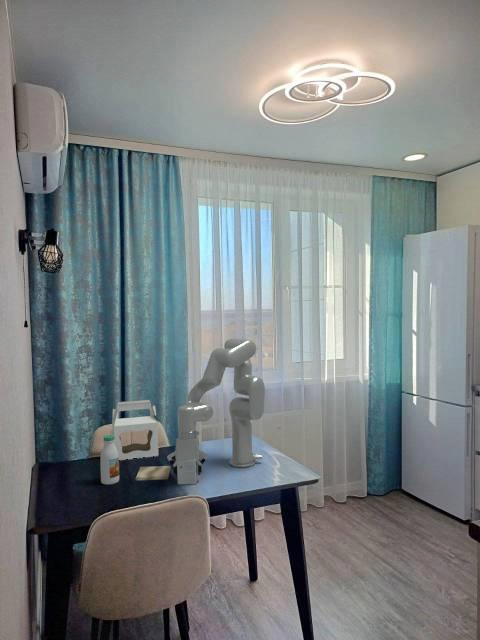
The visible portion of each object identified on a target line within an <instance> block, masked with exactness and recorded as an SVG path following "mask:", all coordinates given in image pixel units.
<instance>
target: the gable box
mask: <svg viewBox="0 0 480 640" xmlns="http://www.w3.org/2000/svg"><path fill="white" fill-rule="evenodd" d="M137 410H149V415H143V416H132V417H121V418H119V413H120V412H125V411H126V412H127V411H137ZM111 418H112V419H111V423H112V425H111V427H112V431H111V432H112V435H114V437H115V439H114V440H115V441H114V444H115V447H116V449H117V451H118V455H119V460H120V461H127V460H126V459H128V460H134V459H133V458H137V459H144V458H143V457H145V458H152V457H153V456H154V457H159V428H158V427H159V424H158V419H157V408H156V405H154V404H153V405H152V403H151V400H150V399H141V400H128V401H118V403H117V407H116V408H112V417H111ZM143 431H148V432H147V437H146V438H147V442H146V443H144V444H143V443H130V444H128V445H123V444H122V441H121V440H122V438H121V434H122V433H124V432H126V433H127V432H143Z"/></svg>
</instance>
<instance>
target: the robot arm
mask: <svg viewBox="0 0 480 640" xmlns="http://www.w3.org/2000/svg"><path fill="white" fill-rule="evenodd" d="M223 347H224V348H222V347H220V348H215V349H213V351H212V352H211V354H210V356H209V358H208V361H207V365H206V367H205V370H204V372H203V375H202V378H201V379H200V380H199V381H198V382H197V383H196V384H195V385H194V386H193V387H192V388H191V389H190V391H189V393H188V395H187V398H186V399H185V403H184V405H181V406H179V407H178V409H177V434H178V435H177V437H176V439H175V440H176V441H175V451H173V452H172V453H170V454H168V455H167V457H166V459H167V460H168V462H169V463H170V464H171V465H172V467H173V474H175V477H178V476H177V461H181V460H196V462H197V472H198V476H200V475H201V473H202V469H203V468H202V465H203V464H205V462H206V460H207V458H208V453H206V452H204V451H201V450H200V442H199V439H198V438H199V437H198V436H199V435H200V431H197V430H196V425H197V422H207V421H209V420H211V418H213V416H214V409H213V407H212V406H211V405H210V404H207V403H202V402H201V400H202V398H203V397H204V395H205V394H206V393H208V392H209V391H211V390H213V389H215V388H217V387H219V386H220V385H221V382H222V379H223V377H224V374H225V371H226V368H228V369H229V368H230V369H232V368H233V372H234V373H233V391H234V392H235V393H236V394H238V395H242V396H247V397H242V396H238V397H234V398H233V399H231V401H230V402H229V405H228V406H229V408H228V410H229V414H230V421H231V444H232V445H231V449H232V451H231V452H232V454H231V455H232V458H230V459H229V461H228V462H229V465H230V466H232V467H236V468H248V467H253V466H254V465H255V464H256V463H257V462H256V461H257V460H263V455H261V454H260V455H259V454H258V453H256V454H254V453H253V439H252V438H253V432H252V431H253V430H252V428H253V427H252V422H251V420H252V421H258V420H261V418H262V416H263V415H264V414H263V413H264V410H265V409H264V408H265V393H266V392H265V391H266V389H265V388H266V387H265V386H266V385H265V382H264V381H263V379H262V378H261V377H260V376H256V375H253V364H252V361H251V358H253V357H254V355H255V354H256V352H257V345H256V342H255V341H254V340H252V339H246V338H245V339H244V338H229V339H227V340H225V342H224V346H223ZM200 456H202V458H201V459H200ZM173 457H175V461H174V460H173V459H172V458H173Z"/></svg>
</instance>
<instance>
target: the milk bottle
mask: <svg viewBox="0 0 480 640" xmlns="http://www.w3.org/2000/svg"><path fill="white" fill-rule="evenodd" d="M114 439H115V437H114V435H113V434H107V435H104V436H103V447H102V449H101V453H100V483H101V484H103V485H114V484H117V483H118V482H119V481H120V461H119V455H118V451H117V449H116V447H115V444H114V441H115V440H114Z"/></svg>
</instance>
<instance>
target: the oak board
mask: <svg viewBox="0 0 480 640" xmlns="http://www.w3.org/2000/svg"><path fill="white" fill-rule="evenodd" d="M171 469H172V467H171V465H162V466H161V465H160V466H156V465H155V466H140V467H139V470H138V472H137V475H136V477H135V481H153V480H154V481H155V480H169V477H170V474H171V473H170V472H171Z"/></svg>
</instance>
